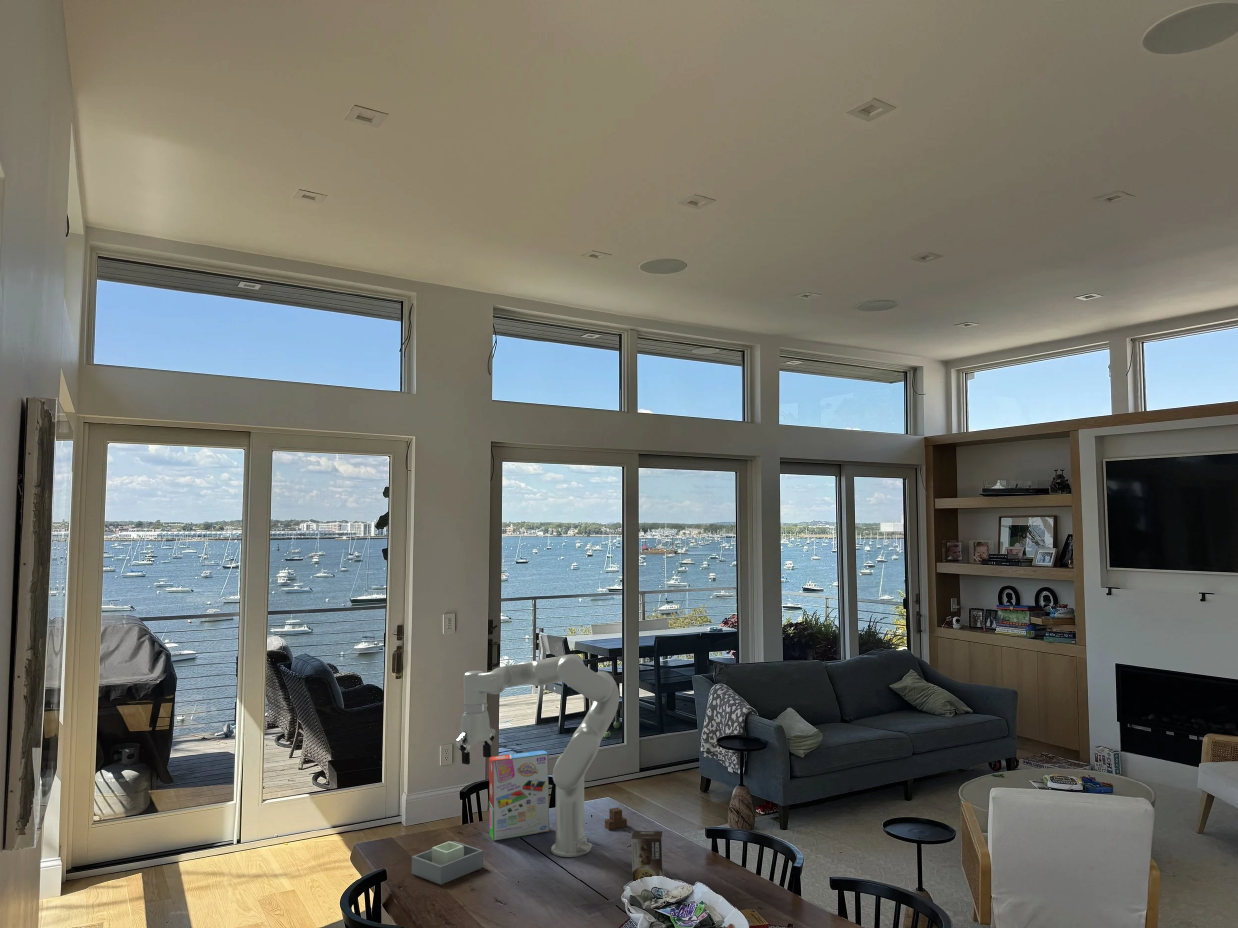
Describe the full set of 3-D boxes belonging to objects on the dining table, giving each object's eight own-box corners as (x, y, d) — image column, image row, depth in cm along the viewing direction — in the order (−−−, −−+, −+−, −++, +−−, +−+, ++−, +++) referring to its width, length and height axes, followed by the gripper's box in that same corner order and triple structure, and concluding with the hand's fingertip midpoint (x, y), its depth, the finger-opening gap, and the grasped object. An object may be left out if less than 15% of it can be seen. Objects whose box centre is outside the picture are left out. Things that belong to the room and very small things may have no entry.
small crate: (463, 867, 264) (463, 845, 264) (446, 874, 258) (446, 852, 259) (449, 862, 268) (449, 840, 269) (431, 868, 263) (431, 847, 263)
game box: (544, 827, 302) (544, 749, 304) (550, 831, 296) (549, 752, 299) (488, 836, 293) (488, 756, 296) (492, 841, 288) (492, 759, 291)
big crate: (483, 868, 265) (483, 850, 266) (440, 885, 252) (440, 866, 253) (454, 858, 274) (454, 840, 275) (411, 874, 261) (411, 856, 261)
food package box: (664, 886, 248) (663, 830, 250) (663, 896, 242) (662, 838, 243) (633, 886, 249) (632, 829, 251) (631, 895, 243) (631, 837, 244)
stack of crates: (607, 840, 289) (607, 819, 290) (590, 826, 303) (590, 807, 304) (646, 833, 296) (646, 813, 296) (627, 820, 309) (627, 801, 310)
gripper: (486, 702, 293) (487, 753, 291) (448, 712, 279) (449, 765, 277) (501, 704, 288) (502, 755, 287) (464, 714, 275) (465, 767, 273)
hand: (476, 760), depth 282 cm, fingers open, 9 cm apart
